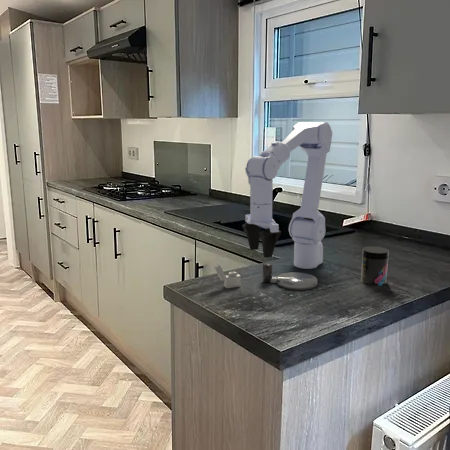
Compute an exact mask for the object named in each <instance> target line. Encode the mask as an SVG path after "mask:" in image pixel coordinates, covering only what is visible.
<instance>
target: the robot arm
mask: <svg viewBox="0 0 450 450" xmlns="http://www.w3.org/2000/svg"><path fill="white" fill-rule="evenodd" d="M332 140H333V131H332V127H331V125H330V124H329V123H328V122H327V121H324V122H303V121H302V122H301V121H299V122H296V124H295V125H293V126H292V131H291V132H290V133H289V134H288V135H287V136H286V137H285V138H284V139H283V140H282V141H273V142H271V144H270V146H269V147H268V148H267V149H265V150H263V151H262V152H261V153H260V154H259V155H253V156H252V157H250V158H249V159H248V161H247V163H246V167H245V175H246V177H247V179H248V180H247V181H248V185H250V186H249V187H250V189H249V191H250V192H249V194H250V197H249V198H250V200H249V202H250V203H249V204H250V205H249V206H250V207H249V209H250V212H249V213H250V214H245V216H244V217H245V219H244V221H245V222H246V223H245V224H242V225H241V226H242V228H243V231H244V232H245V235H246V237H247V240H248V241H247V242H248V246H249V250H250V251H255V250H259V248H260V247H259V246H260V241H261V244H262V254H263V257H264V258H267V259H268V258H272V257H273V254H274V252H275V247H276V244H277V242H278V239H279V238H280V236H281V235H282V231H281V230H279V229H280V227H279V225H280V224H278V223H276V221H275V219H273V185H274V184H273V180H274V179H275V178H276V177H277V175H278V171H279V169H280V168H281V167H282V165H283V164H284V163H286V162H287V161H288V160H289V159H290V157H291V152H293V151H294V150H295V149H297V148H298V147H299V148H300V149H301V150H302V152H304V153H306V155H307V156H308V158H307V163H306V170H305V176H304V183H303V191H302V197H301V202H300V208H299V209H297V210H296V211H294V212H293V213H292V217H291V219H290V222H289V224H288V232H289V236H290V237H291V238H292V241H294V242H293V243H294V245H293V246H294V247H293V249H294V251H293V265H294V267H296V268H299V269H306V270H307V269H309V270H311V269H316V268H318V266H320V265H321V264H323V258H324V245H323V243H322V240H323V239H324V238H325V235H326V217H325V216H324V214H322V213H321V212H320V211H319V206H320V200H321V192H322V185H323V178H324V172H325V168H326V167H325V166H326V159H327V155H328V153H330V151H331V147H332V146H331V145H332ZM306 218H307V219H306ZM311 219H312V220H311ZM263 229H265V230H263ZM260 239H261V240H260Z"/></svg>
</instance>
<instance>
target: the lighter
mask: <svg viewBox="0 0 450 450" xmlns="http://www.w3.org/2000/svg"><path fill="white" fill-rule="evenodd" d="M213 267H214V269H215V273H217V276H218V278H219V279H220V280H221V281H224V283H223V285H224V288H226V289H231V288H237V287H241V286H242V285H241V284H242V283H241V281H242V279H241V275H240V274H239V273H238V272H236V271H229V272H228V275H226V274H225V272H224V270H223V268H222V267H221V265H220V264H219V263H216V264H215V265H213Z"/></svg>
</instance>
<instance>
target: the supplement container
mask: <svg viewBox="0 0 450 450" xmlns="http://www.w3.org/2000/svg"><path fill="white" fill-rule="evenodd" d="M389 253H390V251H389V249H387V248H385V247H381V246H364V247H362V259H361V271H360V272H361V275H360V282H361V283H362V284H364V285H368V286H375V287H376V286H377V287H380V286H385V285H387V279H388V267H389V265H388V263H389Z"/></svg>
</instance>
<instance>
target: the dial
mask: <svg viewBox="0 0 450 450" xmlns="http://www.w3.org/2000/svg"><path fill="white" fill-rule="evenodd" d="M261 280H262V281H261V282H263V283H264V284H276V285H277V286H278V287H281V288H283V289H288V290H291V291H292V290H293V291H304V290H305V291H306V290H307V291H308V290H312V289H315V288H316V287H317V286H318V278H317V277H316V276H314V275H313V274H311V273H310V274H309V273H307V272H306V273H304V272H296V271H295V272H294V271H293V272H291V271H290V272H285V273H281V274H278V275H277V276H273V264H272V263H268V262H267V263H266V262H265V263H262V279H261Z"/></svg>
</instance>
